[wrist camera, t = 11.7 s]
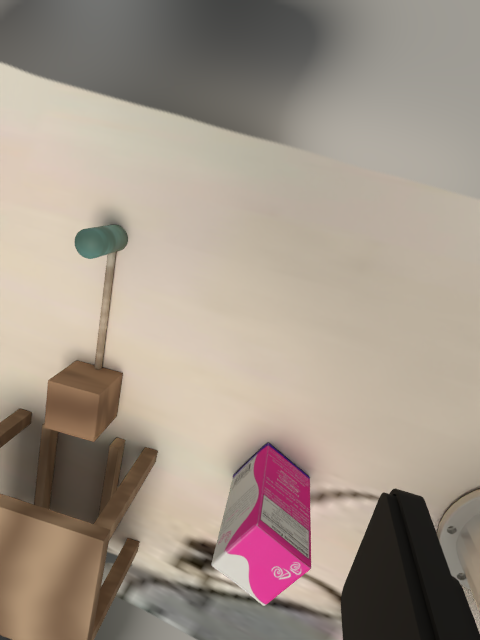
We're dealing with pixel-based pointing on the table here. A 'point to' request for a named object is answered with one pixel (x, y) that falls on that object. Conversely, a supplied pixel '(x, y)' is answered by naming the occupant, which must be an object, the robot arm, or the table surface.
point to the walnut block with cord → (82, 378)
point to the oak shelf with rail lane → (62, 549)
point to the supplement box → (266, 526)
